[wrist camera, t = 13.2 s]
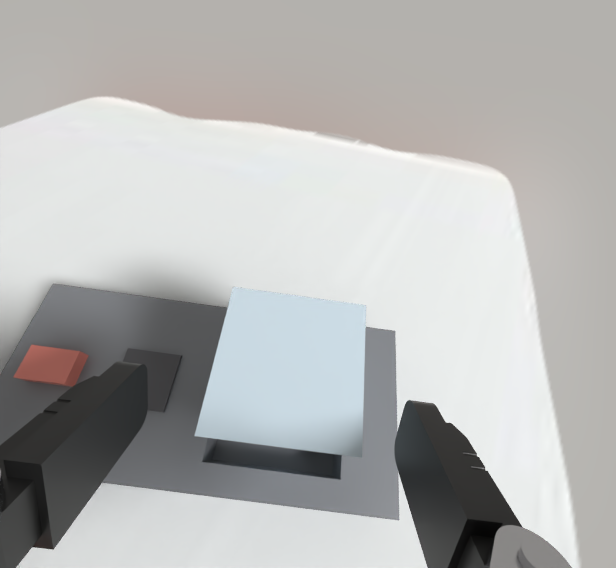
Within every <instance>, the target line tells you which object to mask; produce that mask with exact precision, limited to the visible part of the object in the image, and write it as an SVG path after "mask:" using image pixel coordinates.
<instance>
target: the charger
mask: <svg viewBox="0 0 616 568" xmlns="http://www.w3.org/2000/svg"><path fill="white" fill-rule="evenodd" d="M365 328H366V305H360V304H353V303H346V302H339V301H332V300H324V299H317V298H310V297H303V296H296V295H288V294H281V293H274V292H267V291H260V290H252V289H245V288H238V287H233V289H232V293H231V297H230V301H229V305H228V309H227V313H226V316H225V320H224V324H223V328H222V332H221V336H220V339H219V343H218V347H217V351H216V355H215V359H214V363H213V366H212V370H211V374H210V378H209V382H208V386H207V389H206V393H205V397H204V401H203V405H202V409H201V413H200V416H199V420H198V424H197V428H196V432H195V436H198V437H206V438H213V439H221V440H229V441H236V442H244V443H252V444H260V445H267V446H275V447H283V448H291V449H298V450H306V451H314V452H322V453H329V454H337V455H345V456H353V457H360V458H362V444H363V405H364V366H365Z"/></svg>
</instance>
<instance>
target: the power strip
mask: <svg viewBox="0 0 616 568" xmlns="http://www.w3.org/2000/svg"><path fill="white" fill-rule="evenodd" d="M227 309H228V308H226V307H218V306H211V305H204V304H197V303H190V302H182V301H175V300H168V299H161V298H154V297H146V296H139V295H132V294H125V293H117V292H110V291H103V290H96V289H89V288H81V287H74V286H67V285H60V284H53V285H52V287H51V289H50V290H49V292H48V294H47V295H46V297H45V299H44V301H43V302H42V304H41V306H40V307H39V309H38V311H37V313H36V314H35V316H34V318H33V320H32V321H31V323H30V325H29V326H28V328H27V330H26V332H25V333H24V335H23V337H22V338H21V340H20V342H19V344H18V345H17V347H16V349H15V351H14V352H13V354H12V356H11V357H10V359H9V361H8V363H7V364H6V366H5V368H4V369H3V371H2V373H1V375H0V445H1V444H2V443H4V442H5V441H6V440H7V439H9V438H10V437H11V436H12V435H14V434H15V433H16V432H17V431H18V430H20V429H21V428H22V427H23V426H25V425H26V424H27V423H28V422H30V421H31V420H32V419H33V418H34V417H36V416H37V415H38V414H39V413H43V411H44V409H45V408H47V407H48V406H49V405H50V404H52V403H53V402H54V401H55V402H56V401H57V399H58V398H59V397H60V396H61V395H63V394H64V393H65V392H66V391H68V390H69V389H70V388H71V387H73V386H74V385H76V384H78V383H80V382H82V381H84V380H86V379H89V378H91V377H93V376H100V375H101V374H102V373H104V372H105V371H106V370H107V369H108V368H109V367H111V366H112V365H113V364H114V363H115V362H117V361H122V362H129V363H137V364H144V365H146V367H147V373H148V410H147V415H146V418H145V421H144V423H143V426H142V427H141V429H140V431H139V432H138V433H137V435H136V436H135V437H134V439H133V440H132V442H131V443H130V444H129V446H128V447H127V449H126V450H125V451H124V453H123V454H122V455H121V457H120V458H119V460H118V461H117V462H116V464H115V465H114V466H113V468H112V469H111V471H110V472H109V473H108V475H107V476H106V477H105V479H104V480H103V482H102V483H110V484H117V485H125V486H133V487H141V488H149V489H157V490H165V491H173V492H180V493H188V494H196V495H204V496H212V497H220V498H228V499H235V500H243V501H251V502H259V503H267V504H275V505H283V506H290V507H298V508H306V509H314V510H322V511H330V512H338V513H346V514H353V515H361V516H369V517H377V518H385V519H393V520H399V488H398V468H397V465H396V461H395V454H394V446H395V439H396V435H397V395H396V348H395V331H392V330H384V329H377V328H370V327H366V328H365V366H364V405H363V444H362V458H360V457H353V456H345V455H337V454H329V453H322V452H314V451H306V450H298V449H291V448H283V447H275V446H267V445H260V444H252V443H244V442H236V441H229V440H221V439H213V438H206V437H198V436H195V432H196V428H197V424H198V420H199V416H200V413H201V409H202V405H203V401H204V397H205V393H206V389H207V386H208V382H209V378H210V374H211V370H212V366H213V363H214V359H215V355H216V351H217V347H218V343H219V339H220V336H221V332H222V328H223V324H224V320H225V316H226V313H227Z"/></svg>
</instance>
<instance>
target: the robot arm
mask: <svg viewBox="0 0 616 568" xmlns="http://www.w3.org/2000/svg"><path fill="white" fill-rule="evenodd" d="M147 410H148V373H147V367H146V365H144V364H137V363H129V362H122V361H117V362H115V363H114V364H113V365H112V366H111V367H109V368H108V369H107V370H106V371H105V372H104V373H102V374H101V375H100V376H93V377H91V378H89V379H86V380H84V381H82V382H80V383H78V384H76V385H74V386H73V387H71V388H70V389H69V390H68V391H66V392H65V393H64V394H63V395H61V396H60V397H59V398H58V399H57V401H56V402H55V401H54V402H53V403H52V404H50V405H49V406H48V407H47V408H45V409H44V411H43V413H39V414H38V415H37V416H36V417H34V418H33V419H32V420H31V421H30V422H28V423H27V424H26V425H25V426H23V427H22V428H21V429H20V430H18V431H17V432H16V433H15V434H14V435H12V436H11V437H10V438H9V439H7V440H6V441H5V442H4V443H2V444H1V445H0V568H19V563H20V562H21V560H22V559H23V558H24V557H25V555H26V554H27V553H28V552H29V550H30V549H31V548H32V547H37V548H46V549H54V548H55V547H56V545H57V544H58V542H59V541H60V540H61V538H62V537H63V535H64V534H65V533H66V531H67V530H68V529H69V527H70V526H71V524H72V523H73V522H74V520H75V519H76V518H77V516H78V515H79V513H80V512H81V511H82V509H83V508H84V506H85V505H86V504H87V502H88V501H89V500H90V498H91V497H92V495H93V494H94V493H95V491H96V490H97V489H98V487H99V486H100V484H101V483H102V482H103V480H104V479H105V477H106V476H107V475H108V473H109V472H110V471H111V469H112V468H113V466H114V465H115V464H116V462H117V461H118V460H119V458H120V457H121V455H122V454H123V453H124V451H125V450H126V449H127V447H128V446H129V444H130V443H131V442H132V440H133V439H134V437H135V436H136V435H137V433H138V432H139V431H140V429H141V427H142V426H143V423H144V421H145V418H146V415H147ZM394 454H395V461H396V465H397V468H398V472H399V475H400V478H401V481H402V485H403V488H404V491H405V495H406V498H407V501H408V504H409V508H410V511H411V514H412V518H413V521H414V524H415V527H416V531H417V534H418V537H419V541H420V544H421V547H422V550H423V554H424V557H425V560H426V564H427V567H428V568H571V566H570V565H569V563H568V562H567V561H566V560H565V558H564V557H563V556H562V555H561V554H560V553H559V552H558V551H557V550H556V549H555V548H554V547H553V546H552V545H551V544H549V543H548V542H547V541H545V540H544V539H543V538H541V537H540V536H538V535H537V534H535V533H533V532H531V531H529V530H527V529H525V528H523V527H522V526H521V524H520V523H519V521H518V519H517V518H516V516H515V515H514V513H513V511H512V510H511V508H510V506H509V505H508V503H507V502H506V500H505V498H504V497H503V495H502V494H501V492H500V490H499V489H498V487H497V486H496V484H495V482H494V481H493V479H492V478H491V476H490V474H489V473H488V471H485V466H484V465H483V463H482V462H481V460H480V458H479V457H477V453H476V452H475V450H474V449H473V447H472V445H471V444H470V442H469V441H468V439H467V438H466V437H465V436H464V435H463V434H462V433H461V432H460V431H459V430H458V429H457V428H456V427H455V426H454V425H453V424H452V423H446V422H445V421H444V419H443V417H442V415H441V414H440V412H439V410H438V408H437V407H436V405H435V404H433V403H426V402H418V401H411V400H409V401H407V402H406V404H405V407H404V410H403V414H402V418H401V421H400V425H399V428H398V432H397V435H396V439H395V446H394Z"/></svg>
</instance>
